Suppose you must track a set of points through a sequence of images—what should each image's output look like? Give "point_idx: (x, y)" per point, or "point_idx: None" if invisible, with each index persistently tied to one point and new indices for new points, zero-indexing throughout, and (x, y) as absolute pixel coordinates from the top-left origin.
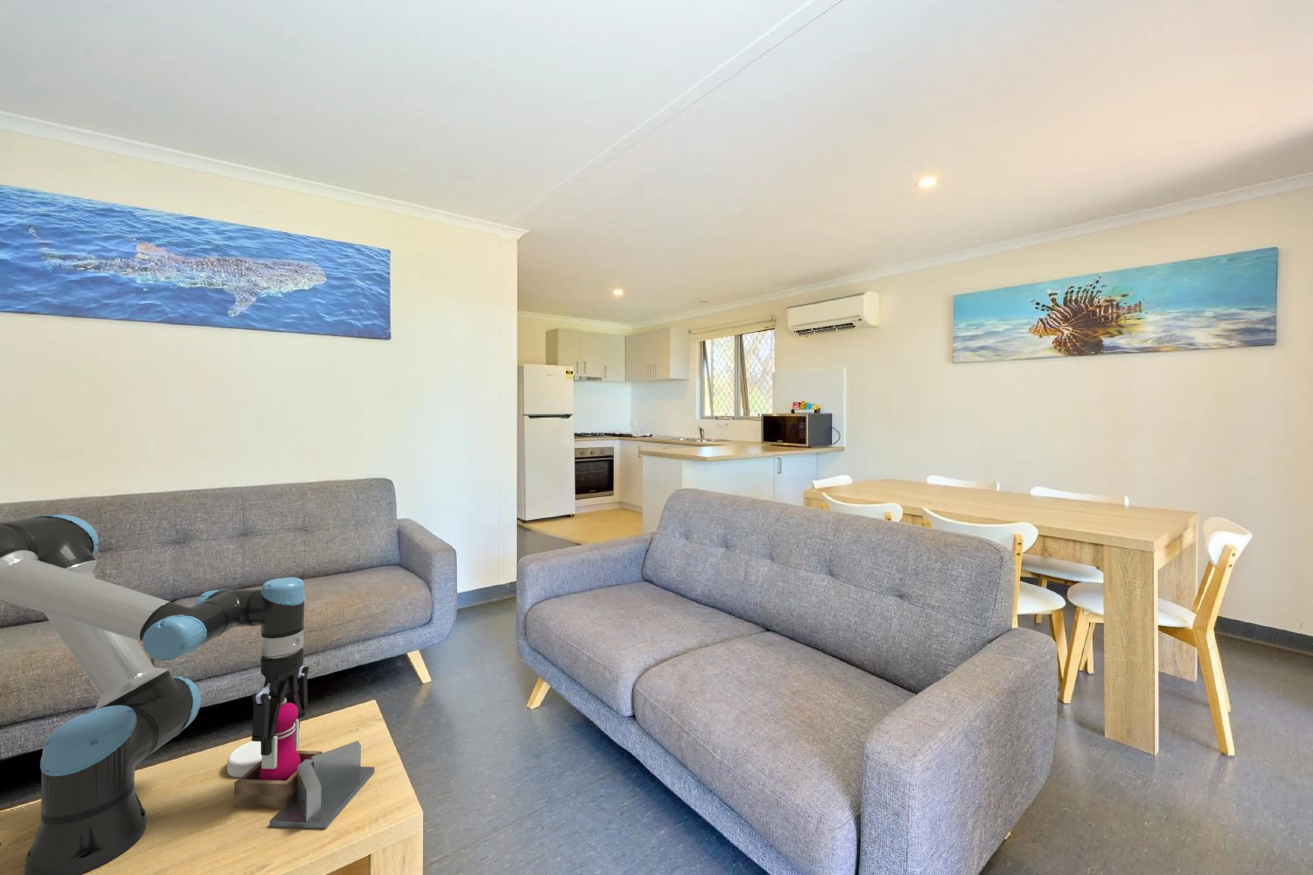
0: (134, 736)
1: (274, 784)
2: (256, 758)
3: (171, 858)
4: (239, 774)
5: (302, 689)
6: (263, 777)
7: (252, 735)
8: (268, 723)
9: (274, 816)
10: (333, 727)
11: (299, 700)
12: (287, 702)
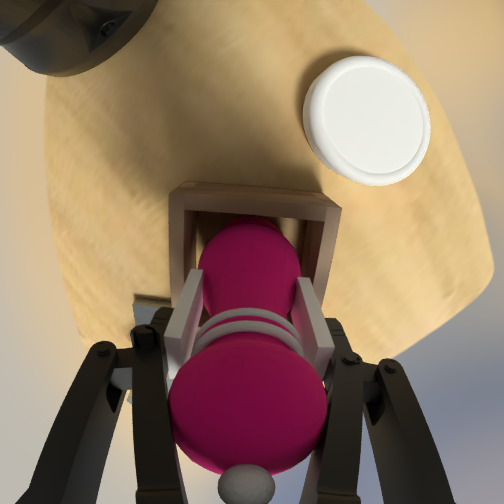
0: None
1: (172, 305)
2: (335, 147)
3: (56, 176)
4: (304, 114)
5: (382, 482)
6: (200, 258)
7: (83, 362)
8: (110, 436)
9: (143, 306)
10: (469, 238)
11: (378, 422)
12: (283, 468)
